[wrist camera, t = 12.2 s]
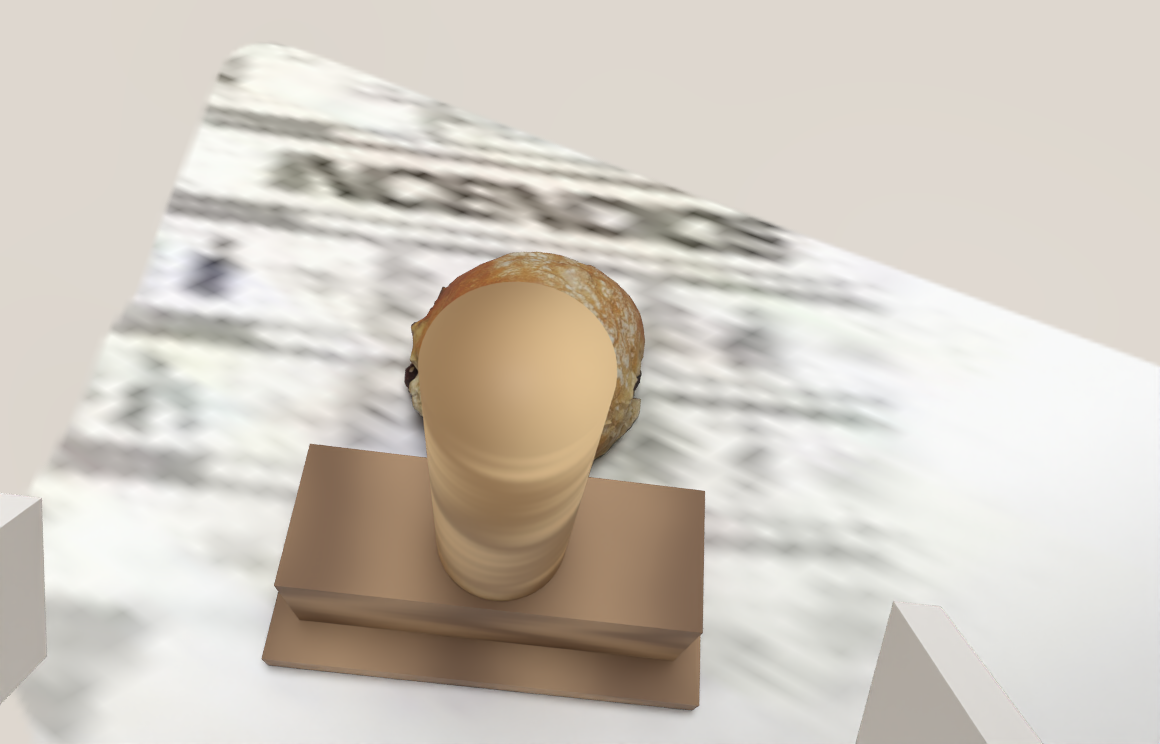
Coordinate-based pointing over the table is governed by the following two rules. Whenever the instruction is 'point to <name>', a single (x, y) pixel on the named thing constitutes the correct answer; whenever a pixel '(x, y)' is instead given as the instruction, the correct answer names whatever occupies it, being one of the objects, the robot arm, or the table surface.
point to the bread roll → (584, 287)
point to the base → (483, 627)
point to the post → (511, 430)
